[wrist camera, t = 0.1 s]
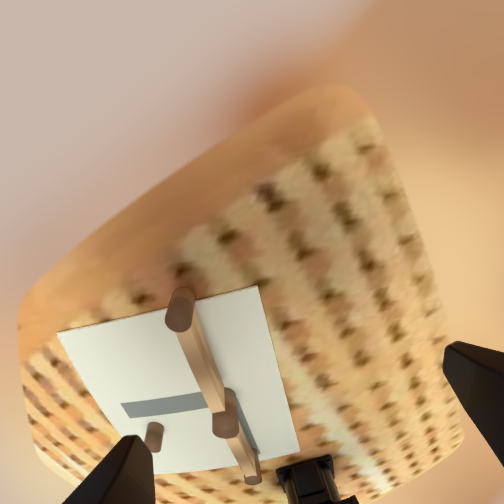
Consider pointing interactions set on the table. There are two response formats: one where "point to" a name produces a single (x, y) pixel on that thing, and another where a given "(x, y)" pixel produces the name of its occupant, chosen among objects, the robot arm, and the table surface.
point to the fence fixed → (222, 427)
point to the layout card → (187, 381)
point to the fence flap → (195, 347)
